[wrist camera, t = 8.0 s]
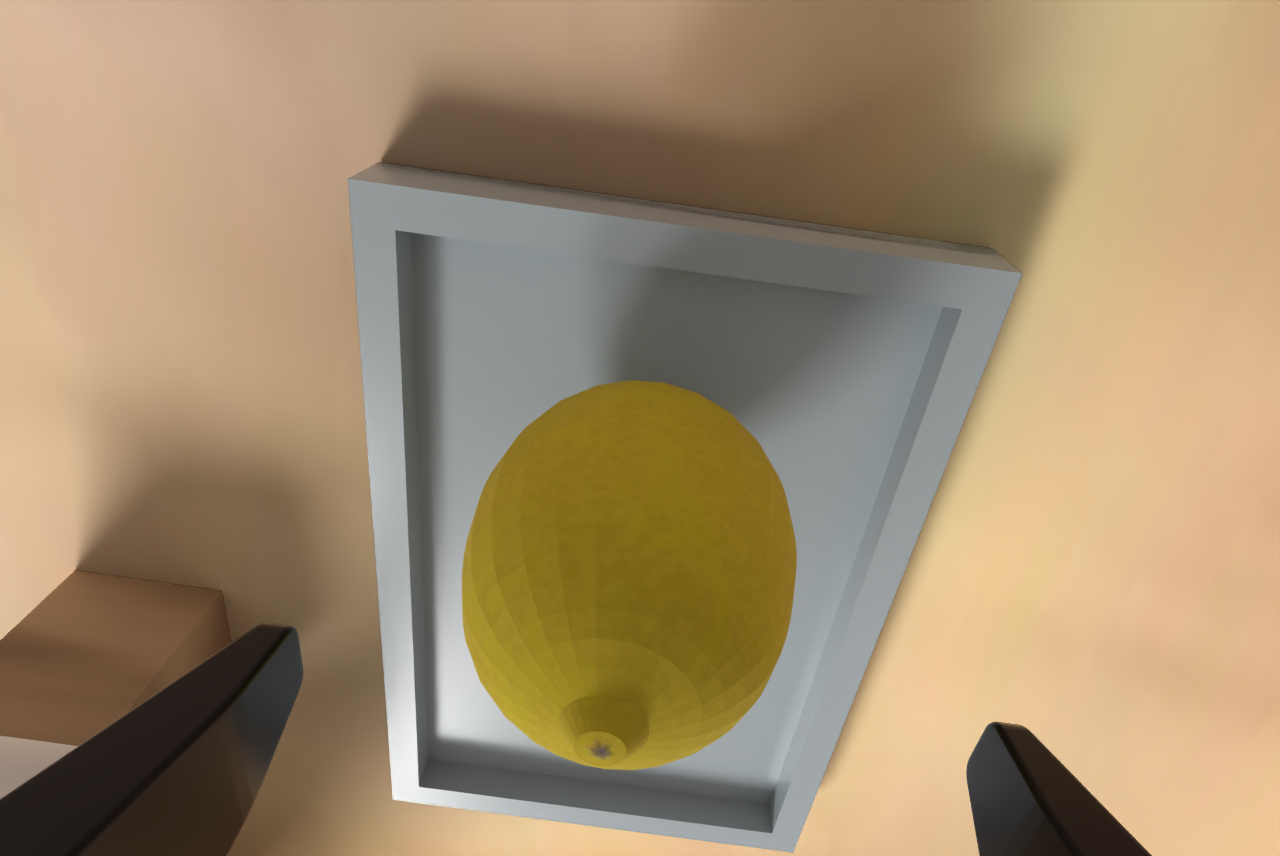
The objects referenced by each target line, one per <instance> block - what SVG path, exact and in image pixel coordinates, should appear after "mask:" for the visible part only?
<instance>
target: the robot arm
mask: <svg viewBox="0 0 1280 856" xmlns="http://www.w3.org/2000/svg"><path fill="white" fill-rule="evenodd" d="M302 678H303V666H302V659H301V652H300V646H299V639H298V634H297V631H296V629H295V628H294V627H292V626H289V625H281V624H274V623H262V624H259V625H257V626H255V627H254V628H252V629H251V630H249V631H248V632H246V633H245V634H243V635H242V636H241V637H239V638H238V639H236V640H235V641H233V642H232V643H230V644H229V645H227V646H226V647H224V648H223V649H221V650H220V651H218V652H217V653H215V654H214V655H212V656H211V657H209V658H208V659H206V660H205V661H203V662H202V663H201V664H199V665H198V666H196V667H195V668H193V669H192V670H190V671H189V672H187V673H186V674H184V675H183V676H181V677H180V678H178V679H177V680H175V681H174V682H172V683H171V684H169V685H168V686H166V687H165V688H163V689H162V690H161V691H159V692H158V693H156V694H155V695H153V696H152V697H150V698H149V699H147V700H146V701H144V702H143V703H141V704H140V705H138V706H137V707H135V708H134V709H132V710H131V711H129V712H128V713H126V714H125V715H123V716H122V717H121V718H119V719H118V720H116V721H115V722H113V723H112V724H110V725H109V726H107V727H106V728H104V729H103V730H101V731H100V732H98V733H97V734H95V735H94V736H92V737H91V738H89V739H88V740H86V741H85V742H83V743H82V744H81V745H79V746H78V747H76V748H75V749H73V750H72V751H70V752H69V753H67V754H66V755H64V756H63V757H61V758H60V759H58V760H57V761H55V762H54V763H52V764H51V765H49V766H48V767H46V768H45V769H44V770H42V771H41V772H39V773H38V774H36V775H35V776H33V777H32V778H30V779H29V780H27V781H26V782H24V783H23V784H21V785H20V786H18V787H17V788H15V789H14V790H12V791H11V792H9V793H8V794H6V795H5V796H4V797H2V798H1V799H0V856H227V855H228V853H229V851H230V849H231V847H232V845H233V844H234V842H235V840H236V838H237V836H238V834H239V832H240V830H241V828H242V826H243V824H244V822H245V820H246V818H247V816H248V814H249V812H250V810H251V808H252V806H253V804H254V802H255V799H256V797H257V795H258V792H259V790H260V788H261V785H262V783H263V780H264V778H265V775H266V773H267V770H268V768H269V765H270V763H271V760H272V758H273V755H274V753H275V750H276V748H277V745H278V742H279V740H280V737H281V735H282V732H283V730H284V727H285V725H286V722H287V720H288V717H289V715H290V712H291V710H292V707H293V705H294V702H295V700H296V697H297V695H298V692H299V689H300V687H301V683H302ZM966 772H967V783H968V789H969V795H970V801H971V807H972V813H973V819H974V825H975V831H976V837H977V843H978V849H979V855H980V856H1152V855H1151V854H1150V853H1149V852H1148V851H1147V850H1146V849H1145V848H1144V847H1143V846H1142V845H1141V844H1140V843H1139V842H1138V841H1137V840H1136V839H1135V838H1134V837H1133V836H1132V835H1131V834H1130V833H1129V832H1128V831H1127V830H1126V829H1125V828H1124V827H1123V826H1122V825H1121V824H1120V823H1119V822H1118V821H1117V820H1116V819H1115V817H1114V816H1113V815H1112V814H1111V813H1110V812H1109V811H1108V810H1107V809H1106V808H1105V807H1104V806H1103V805H1102V804H1101V803H1100V802H1099V801H1098V800H1097V799H1096V798H1095V797H1094V796H1093V795H1092V794H1091V793H1090V792H1089V791H1088V790H1087V789H1086V788H1085V787H1084V786H1083V785H1082V784H1081V783H1080V782H1079V781H1078V780H1077V779H1076V777H1075V776H1074V775H1073V774H1072V773H1071V772H1070V771H1069V770H1068V769H1067V768H1066V767H1065V766H1064V765H1063V764H1062V763H1061V762H1060V761H1059V760H1058V759H1057V758H1056V757H1055V756H1054V755H1053V754H1052V753H1051V752H1050V751H1049V750H1048V749H1047V748H1046V747H1045V746H1044V745H1043V744H1042V743H1041V742H1040V741H1039V740H1038V739H1037V738H1036V736H1035V735H1034V734H1033V733H1032V732H1030V731H1029V730H1028V729H1027V728H1025V727H1024V726H1021V725H1017V724H1010V723H1002V722H992V723H991V724H989V725H988V726H987V727H986V729H985V731H984V732H983V734H982V736H981V738H980V740H979V741H978V743H977V745H976V747H975V749H974V751H973V752H972V754H971V756H970V758H969V761H968V764H967V771H966Z"/></svg>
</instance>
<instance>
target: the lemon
mask: <svg viewBox="0 0 1280 856" xmlns="http://www.w3.org/2000/svg"><path fill="white" fill-rule="evenodd" d="M796 565H797V550H796V540H795V534H794V529H793V524H792V520H791V515H790V511H789V507H788V502H787V498H786V494H785V491H784V488H783V485H782V483H781V481H780V479H779V477H778V475H777V473H776V471H775V469H774V468H773V466H772V464H771V462H770V461H769V459H768V457H767V456H766V454H765V452H764V450H763V449H762V447H761V445H760V444H759V442H758V441H757V440H756V438H755V437H754V436H753V435H752V434H751V433H750V432H749V431H748V430H747V429H746V428H745V427H744V426H743V425H742V424H741V423H740V422H739V421H738V420H737V419H736V418H735V417H734V416H733V415H732V414H731V413H729V412H728V411H727V410H726V409H724V408H722V407H720V406H719V405H717V404H715V403H714V402H712V401H710V400H709V399H707V398H705V397H704V396H702V395H700V394H699V393H697V392H693V391H690V390H687V389H684V388H680V387H677V386H674V385H671V384H667V383H662V382H649V381H636V380H628V381H622V382H615V383H608V384H602V385H597V386H594V387H591V388H589V389H587V390H584V391H582V392H580V393H577V394H575V395H572V396H570V397H568V398H565V399H563V400H561V401H559V402H558V403H556V404H555V405H554V406H552V407H551V408H550V409H549V410H547V411H546V412H545V413H543V414H542V415H541V416H540V417H538V418H537V419H536V420H534V421H533V422H532V423H530V424H529V425H528V426H527V427H526V428H525V429H524V430H523V431H522V432H521V433H520V434H519V435H518V436H517V438H516V439H515V440H514V442H513V443H512V445H511V446H510V447H509V449H508V450H507V451H506V453H505V454H504V456H503V457H502V458H501V460H500V461H499V463H498V464H497V465H496V467H495V468H494V469H493V471H492V472H491V474H490V476H489V478H488V480H487V481H486V483H485V486H484V488H483V491H482V493H481V496H480V498H479V502H478V505H477V508H476V511H475V514H474V518H473V521H472V524H471V527H470V531H469V534H468V538H467V542H466V547H465V552H464V558H463V568H462V616H463V628H464V635H465V641H466V643H467V646H468V649H469V652H470V655H471V658H472V660H473V663H474V666H475V669H476V672H477V674H478V677H479V680H480V682H481V684H482V685H483V686H484V688H485V689H486V691H487V692H488V694H489V695H490V696H491V698H492V699H493V701H494V702H495V703H496V705H497V706H498V708H499V709H500V710H501V712H502V713H503V715H504V716H505V717H506V718H507V719H508V720H509V721H510V722H512V723H513V724H514V725H515V726H516V727H517V728H518V729H520V730H521V731H522V732H523V733H524V734H525V735H526V736H528V737H529V738H530V739H531V740H532V741H533V742H535V743H536V744H538V745H540V746H542V747H543V748H545V749H547V750H548V751H550V752H552V753H554V754H555V755H558V756H560V757H563V758H566V759H568V760H571V761H574V762H577V763H579V764H582V765H586V766H592V767H597V768H602V769H616V770H637V769H644V768H651V767H658V766H662V765H665V764H668V763H670V762H673V761H676V760H679V759H682V758H685V757H687V756H690V755H692V754H695V753H697V752H698V751H700V750H701V749H703V748H705V747H706V746H708V745H710V744H711V743H713V742H714V741H716V740H718V739H719V738H720V737H722V736H723V735H725V734H726V733H727V732H729V731H730V730H731V729H732V728H733V727H734V726H735V725H736V724H737V723H738V722H739V721H740V720H741V718H742V717H743V716H744V715H745V714H746V713H747V712H748V711H749V710H750V709H751V707H752V706H753V705H754V704H755V703H756V701H757V700H758V699H759V698H760V696H761V695H762V693H763V691H764V689H765V687H766V685H767V683H768V681H769V679H770V677H771V674H772V672H773V670H774V668H775V666H776V663H777V661H778V659H779V657H780V655H781V652H782V649H783V646H784V643H785V640H786V637H787V633H788V629H789V625H790V620H791V614H792V607H793V598H794V588H795V578H796Z"/></svg>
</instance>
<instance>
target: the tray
mask: <svg viewBox="0 0 1280 856" xmlns="http://www.w3.org/2000/svg"><path fill="white" fill-rule="evenodd" d="M348 185H349V199H350V213H351V227H352V241H353V255H354V269H355V282H356V296H357V310H358V324H359V338H360V352H361V366H362V380H363V393H364V407H365V421H366V435H367V449H368V463H369V477H370V490H371V504H372V518H373V532H374V546H375V560H376V574H377V588H378V601H379V615H380V629H381V643H382V657H383V671H384V685H385V698H386V712H387V726H388V740H389V754H390V768H391V782H392V796H393V800H398V801H405V802H413V803H421V804H428V805H436V806H443V807H451V808H459V809H466V810H474V811H481V812H489V813H496V814H504V815H512V816H519V817H527V818H534V819H542V820H549V821H557V822H565V823H572V824H580V825H587V826H595V827H603V828H610V829H618V830H625V831H633V832H640V833H648V834H656V835H663V836H671V837H678V838H686V839H694V840H701V841H709V842H716V843H724V844H731V845H739V846H747V847H754V848H762V849H769V850H777V851H785V852H792V853H793V851H794V849H795V846H796V844H797V841H798V839H799V836H800V834H801V831H802V829H803V826H804V824H805V821H806V819H807V816H808V814H809V811H810V809H811V806H812V803H813V801H814V798H815V796H816V793H817V791H818V788H819V786H820V783H821V781H822V778H823V776H824V773H825V771H826V768H827V766H828V763H829V761H830V758H831V755H832V753H833V750H834V748H835V745H836V743H837V740H838V738H839V735H840V733H841V730H842V728H843V725H844V723H845V720H846V718H847V715H848V713H849V710H850V707H851V705H852V702H853V700H854V697H855V695H856V692H857V690H858V687H859V685H860V682H861V680H862V677H863V675H864V672H865V670H866V667H867V665H868V662H869V659H870V657H871V654H872V652H873V649H874V647H875V644H876V642H877V639H878V637H879V634H880V632H881V629H882V627H883V624H884V622H885V619H886V617H887V614H888V611H889V609H890V606H891V604H892V601H893V599H894V596H895V594H896V591H897V589H898V586H899V584H900V581H901V579H902V576H903V574H904V571H905V569H906V566H907V563H908V561H909V558H910V556H911V553H912V551H913V548H914V546H915V543H916V541H917V538H918V536H919V533H920V531H921V528H922V526H923V523H924V521H925V518H926V516H927V513H928V510H929V508H930V505H931V503H932V500H933V498H934V495H935V493H936V490H937V488H938V485H939V483H940V480H941V478H942V475H943V473H944V470H945V468H946V465H947V462H948V460H949V457H950V455H951V452H952V450H953V447H954V445H955V442H956V440H957V437H958V435H959V432H960V430H961V427H962V425H963V422H964V420H965V417H966V414H967V412H968V409H969V407H970V404H971V402H972V399H973V397H974V394H975V392H976V389H977V387H978V384H979V382H980V379H981V377H982V374H983V372H984V369H985V366H986V364H987V361H988V359H989V356H990V354H991V351H992V349H993V346H994V344H995V341H996V339H997V336H998V334H999V331H1000V329H1001V326H1002V324H1003V321H1004V318H1005V316H1006V313H1007V311H1008V308H1009V306H1010V303H1011V301H1012V298H1013V296H1014V293H1015V291H1016V288H1017V286H1018V283H1019V281H1020V278H1021V276H1022V273H1021V272H1020V271H1019V270H1018V269H1017V268H1015V267H1014V266H1013V265H1012V264H1011V263H1010V262H1008V261H1007V260H1006V259H1005V258H1004V257H1002V256H1001V255H1000V254H999V253H998V252H997V251H995V250H994V249H993V248H986V247H979V246H972V245H965V244H957V243H950V242H943V241H936V240H929V239H922V238H915V237H908V236H900V235H893V234H886V233H879V232H872V231H865V230H858V229H851V228H843V227H836V226H829V225H822V224H815V223H808V222H801V221H794V220H787V219H779V218H772V217H765V216H758V215H751V214H744V213H737V212H730V211H722V210H715V209H708V208H701V207H694V206H687V205H680V204H673V203H666V202H658V201H651V200H644V199H637V198H630V197H623V196H616V195H609V194H601V193H594V192H587V191H580V190H573V189H566V188H559V187H552V186H545V185H537V184H530V183H523V182H516V181H509V180H502V179H495V178H488V177H480V176H473V175H466V174H459V173H452V172H445V171H438V170H431V169H424V168H416V167H409V166H402V165H395V164H388V163H381V162H378V163H377V164H375V165H373V166H371V167H369V168H367V169H365V170H364V171H362V172H360V173H358V174H356V175H354V176H352V177H350V178H349V179H348ZM628 380H636V381H649V382H662V383H667V384H671V385H674V386H677V387H680V388H684V389H687V390H690V391H693V392H697V393H699V394H700V395H702V396H704V397H705V398H707V399H709V400H710V401H712V402H714V403H715V404H717V405H719V406H720V407H722V408H724V409H726V410H727V411H728V412H729V413H731V414H732V415H733V416H734V417H735V418H736V419H737V420H738V421H739V422H740V423H741V424H742V425H743V426H744V427H745V428H746V429H747V430H748V431H749V432H750V433H751V434H752V435H753V436H754V437H755V438H756V440H757V441H758V442H759V444H760V445H761V447H762V449H763V450H764V452H765V454H766V456H767V457H768V459H769V461H770V462H771V464H772V466H773V468H774V469H775V471H776V473H777V475H778V477H779V479H780V481H781V483H782V485H783V488H784V491H785V494H786V498H787V502H788V507H789V511H790V515H791V520H792V524H793V529H794V534H795V540H796V550H797V565H796V578H795V588H794V598H793V607H792V614H791V620H790V625H789V629H788V633H787V637H786V640H785V643H784V646H783V649H782V652H781V655H780V657H779V659H778V661H777V663H776V666H775V668H774V670H773V672H772V674H771V677H770V679H769V681H768V683H767V685H766V687H765V689H764V691H763V693H762V695H761V696H760V698H759V699H758V700H757V701H756V703H755V704H754V705H753V706H752V707H751V709H750V710H749V711H748V712H747V713H746V714H745V715H744V716H743V717H742V718H741V720H740V721H739V722H738V723H737V724H736V725H735V726H734V727H733V728H732V729H731V730H730V731H729V732H727V733H726V734H725V735H723V736H722V737H720V738H719V739H718V740H716V741H714V742H713V743H711V744H710V745H708V746H706V747H705V748H703V749H701V750H700V751H698V752H697V753H695V754H692V755H690V756H687V757H685V758H682V759H679V760H676V761H673V762H670V763H668V764H665V765H662V766H658V767H651V768H644V769H637V770H616V769H602V768H597V767H592V766H586V765H582V764H579V763H577V762H574V761H571V760H568V759H566V758H563V757H560V756H558V755H555V754H554V753H552V752H550V751H548V750H547V749H545V748H543V747H542V746H540V745H538V744H536V743H535V742H533V741H532V740H531V739H530V738H529V737H528V736H526V735H525V734H524V733H523V732H522V731H521V730H520V729H518V728H517V727H516V726H515V725H514V724H513V723H512V722H510V721H509V720H508V719H507V718H506V717H505V716H504V715H503V713H502V712H501V710H500V709H499V708H498V706H497V705H496V703H495V702H494V701H493V699H492V698H491V696H490V695H489V694H488V692H487V691H486V689H485V688H484V686H483V685H482V684H481V682H480V680H479V677H478V674H477V672H476V669H475V666H474V663H473V660H472V658H471V655H470V652H469V649H468V646H467V643H466V641H465V635H464V628H463V616H462V568H463V558H464V552H465V547H466V542H467V538H468V534H469V531H470V527H471V524H472V521H473V518H474V514H475V511H476V508H477V505H478V502H479V498H480V496H481V493H482V491H483V488H484V486H485V483H486V481H487V480H488V478H489V476H490V474H491V472H492V471H493V469H494V468H495V467H496V465H497V464H498V463H499V461H500V460H501V458H502V457H503V456H504V454H505V453H506V451H507V450H508V449H509V447H510V446H511V445H512V443H513V442H514V440H515V439H516V438H517V436H518V435H519V434H520V433H521V432H522V431H523V430H524V429H525V428H526V427H527V426H528V425H529V424H530V423H532V422H533V421H534V420H536V419H537V418H538V417H540V416H541V415H542V414H543V413H545V412H546V411H547V410H549V409H550V408H551V407H552V406H554V405H555V404H556V403H558V402H559V401H561V400H563V399H565V398H568V397H570V396H572V395H575V394H577V393H580V392H582V391H584V390H587V389H589V388H591V387H594V386H597V385H602V384H608V383H615V382H622V381H628Z"/></svg>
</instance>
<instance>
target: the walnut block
mask: <svg viewBox="0 0 1280 856" xmlns="http://www.w3.org/2000/svg"><path fill="white" fill-rule="evenodd" d="M230 643H232V640H231V635H230V630H229V625H228V620H227V615H226V610H225V605H224V600H223V595H222V591H219V590H212V589H205V588H198V587H191V586H184V585H177V584H169V583H162V582H155V581H148V580H141V579H134V578H127V577H120V576H112V575H105V574H98V573H91V572H84V571H77V570H75V571H74V572H73V573H72V574H71V575H70V576H69V577H68V578H67V579H65V580H64V581H63V582H62V583H61V584H60V585H59V586H58V587H57V588H56V589H55V590H54V591H53V592H52V593H51V594H49V595H48V596H47V597H46V598H45V599H44V600H43V601H42V602H41V603H40V604H39V605H38V606H37V607H36V608H35V609H34V610H32V611H31V612H30V613H29V614H28V615H27V616H26V617H25V618H24V619H23V620H22V621H21V622H20V623H19V624H18V625H16V626H15V627H14V628H13V629H12V630H11V631H10V632H9V633H8V634H7V635H6V636H5V637H4V638H3V639H2V640H0V799H1V798H2V797H4V796H5V795H6V794H8V793H9V792H11V791H12V790H14V789H15V788H17V787H18V786H20V785H21V784H23V783H24V782H26V781H27V780H29V779H30V778H32V777H33V776H35V775H36V774H38V773H39V772H41V771H42V770H44V769H45V768H46V767H48V766H49V765H51V764H52V763H54V762H55V761H57V760H58V759H60V758H61V757H63V756H64V755H66V754H67V753H69V752H70V751H72V750H73V749H75V748H76V747H78V746H79V745H81V744H82V743H83V742H85V741H86V740H88V739H89V738H91V737H92V736H94V735H95V734H97V733H98V732H100V731H101V730H103V729H104V728H106V727H107V726H109V725H110V724H112V723H113V722H115V721H116V720H118V719H119V718H121V717H122V716H123V715H125V714H126V713H128V712H129V711H131V710H132V709H134V708H135V707H137V706H138V705H140V704H141V703H143V702H144V701H146V700H147V699H149V698H150V697H152V696H153V695H155V694H156V693H158V692H159V691H161V690H162V689H163V688H165V687H166V686H168V685H169V684H171V683H172V682H174V681H175V680H177V679H178V678H180V677H181V676H183V675H184V674H186V673H187V672H189V671H190V670H192V669H193V668H195V667H196V666H198V665H199V664H201V663H202V662H203V661H205V660H206V659H208V658H209V657H211V656H212V655H214V654H215V653H217V652H218V651H220V650H221V649H223V648H224V647H226V646H227V645H229V644H230Z"/></svg>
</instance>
